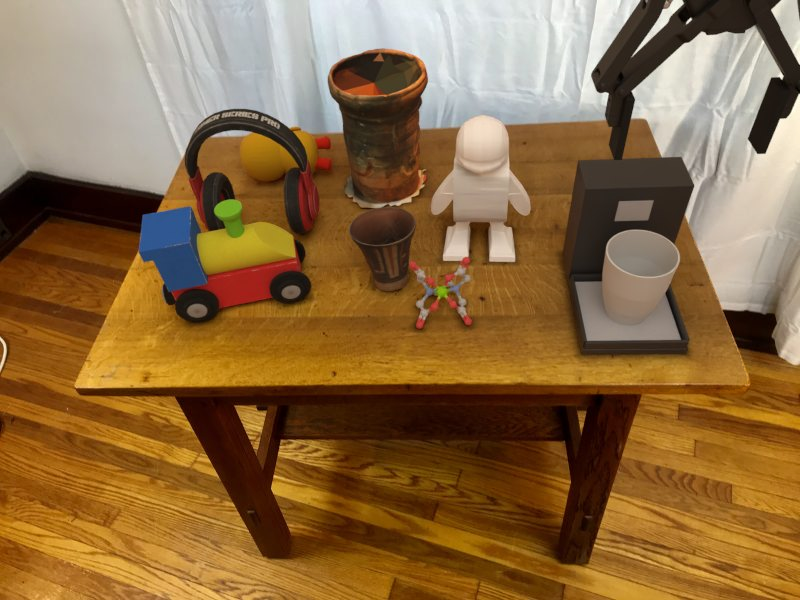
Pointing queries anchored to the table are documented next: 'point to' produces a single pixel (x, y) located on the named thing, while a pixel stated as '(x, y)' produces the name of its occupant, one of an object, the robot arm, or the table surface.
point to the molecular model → (442, 291)
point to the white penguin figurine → (481, 190)
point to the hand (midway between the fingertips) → (685, 149)
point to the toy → (280, 155)
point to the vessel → (381, 124)
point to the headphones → (217, 186)
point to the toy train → (221, 261)
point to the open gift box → (607, 216)
